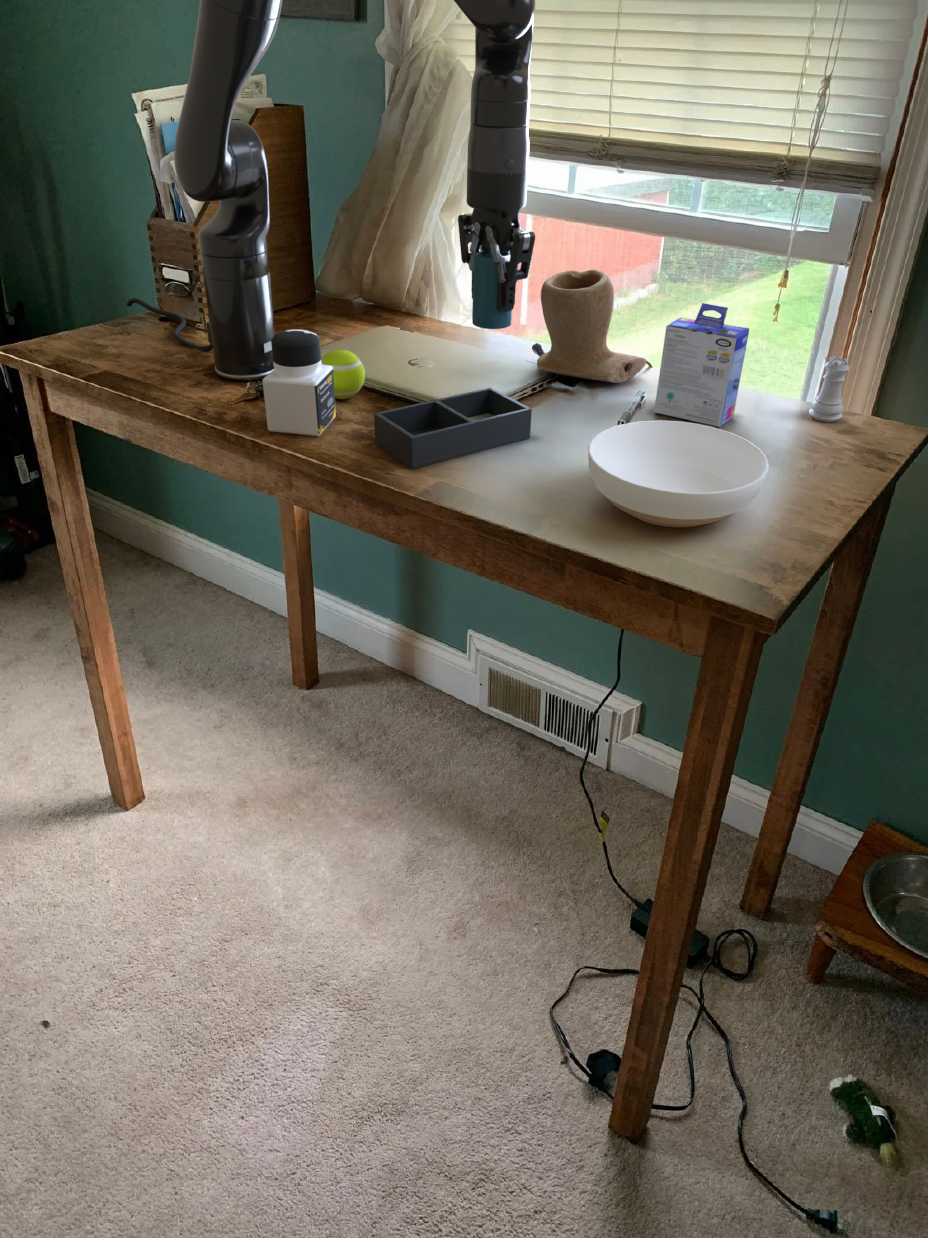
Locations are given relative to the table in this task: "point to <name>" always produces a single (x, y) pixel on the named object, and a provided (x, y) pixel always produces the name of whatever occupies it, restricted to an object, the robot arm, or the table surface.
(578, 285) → the clay platform pipe
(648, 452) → the bowl
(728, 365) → the ink cartridge box
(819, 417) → the rook chess piece
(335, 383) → the tennis ball
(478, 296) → the jar
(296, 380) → the medicine bottle
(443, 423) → the divided tray
